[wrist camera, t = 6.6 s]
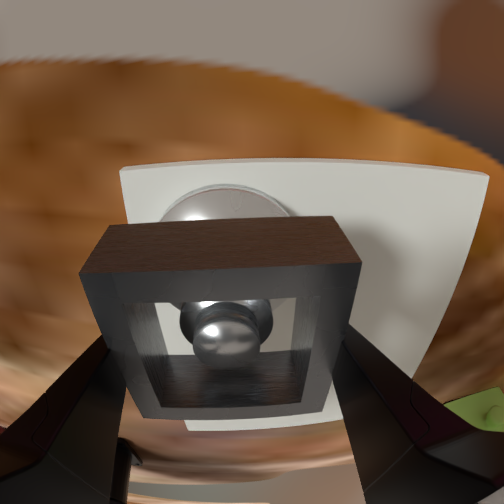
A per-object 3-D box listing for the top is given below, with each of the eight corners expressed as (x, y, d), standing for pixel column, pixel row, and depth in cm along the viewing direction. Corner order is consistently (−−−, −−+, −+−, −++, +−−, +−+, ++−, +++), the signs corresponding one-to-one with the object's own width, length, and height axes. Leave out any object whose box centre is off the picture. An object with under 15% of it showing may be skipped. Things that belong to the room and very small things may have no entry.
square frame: (310, 362, 13) (321, 411, 10) (152, 368, 12) (143, 418, 10) (332, 215, 9) (362, 262, 7) (109, 225, 9) (78, 273, 7)
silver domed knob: (295, 308, 15) (317, 396, 11) (164, 313, 15) (148, 402, 11) (305, 181, 12) (350, 252, 8) (141, 188, 12) (93, 262, 7)
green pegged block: (522, 367, 27) (556, 418, 18) (483, 415, 31) (508, 463, 23) (428, 396, 24) (467, 475, 16) (386, 446, 29) (410, 513, 20)
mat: (391, 403, 23) (393, 408, 23) (188, 424, 22) (188, 430, 22) (482, 172, 13) (489, 176, 12) (123, 166, 12) (119, 171, 11)
